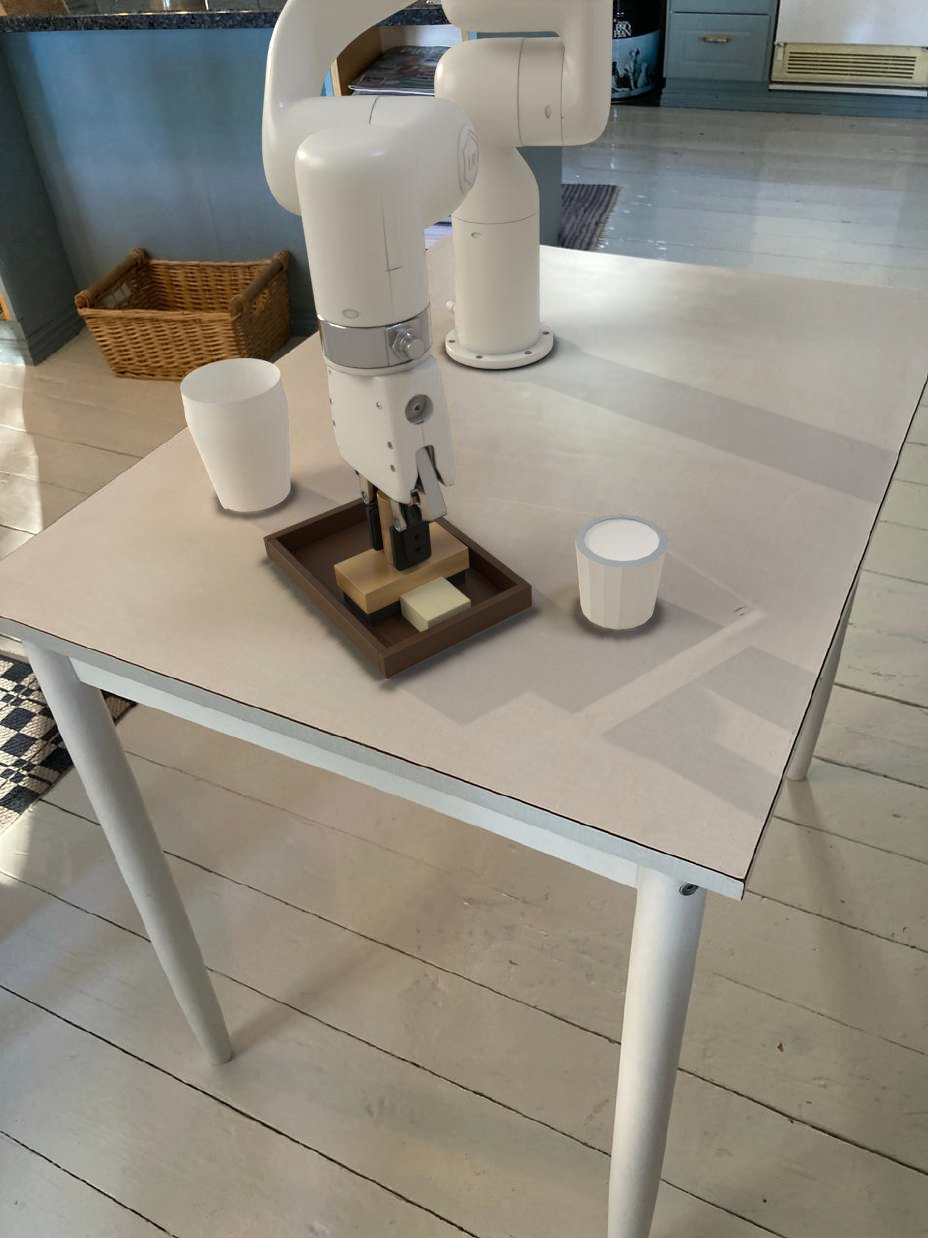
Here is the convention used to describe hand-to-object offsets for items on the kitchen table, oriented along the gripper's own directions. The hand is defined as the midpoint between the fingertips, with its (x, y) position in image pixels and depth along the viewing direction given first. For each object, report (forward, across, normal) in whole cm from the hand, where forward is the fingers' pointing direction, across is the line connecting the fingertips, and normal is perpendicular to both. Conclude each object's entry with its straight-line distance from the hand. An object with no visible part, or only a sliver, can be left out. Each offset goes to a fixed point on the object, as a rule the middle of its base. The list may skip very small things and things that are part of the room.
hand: (401, 551), depth 78 cm
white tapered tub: (+5, -12, -12) cm, 18 cm away
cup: (+5, +22, +3) cm, 23 cm away
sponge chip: (+4, -4, 0) cm, 6 cm away
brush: (+4, 0, 0) cm, 4 cm away
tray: (+5, +2, 0) cm, 5 cm away
